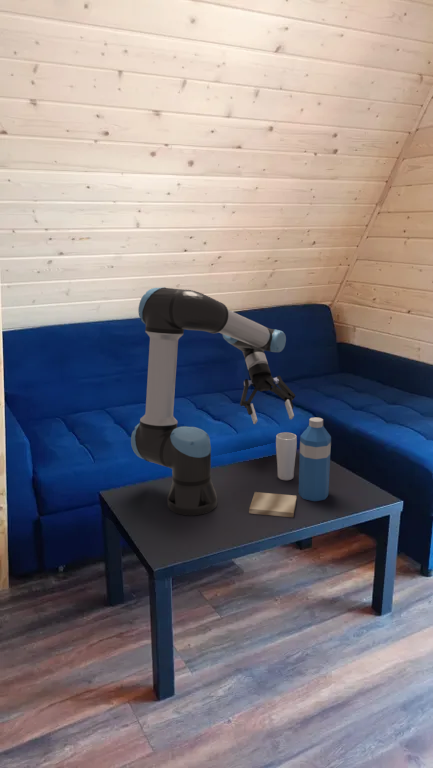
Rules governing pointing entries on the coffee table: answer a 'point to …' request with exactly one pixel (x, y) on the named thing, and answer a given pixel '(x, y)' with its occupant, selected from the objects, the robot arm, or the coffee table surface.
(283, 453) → the drinking glass
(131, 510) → the coffee table surface
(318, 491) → the water bottle
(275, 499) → the birch board
